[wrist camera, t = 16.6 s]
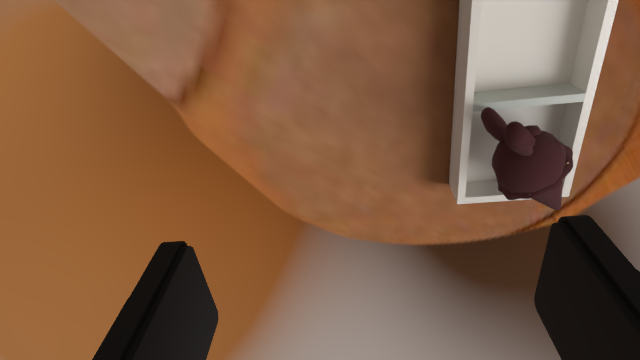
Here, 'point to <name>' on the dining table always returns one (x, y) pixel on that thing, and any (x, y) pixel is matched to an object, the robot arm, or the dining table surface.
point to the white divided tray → (523, 80)
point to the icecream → (528, 160)
